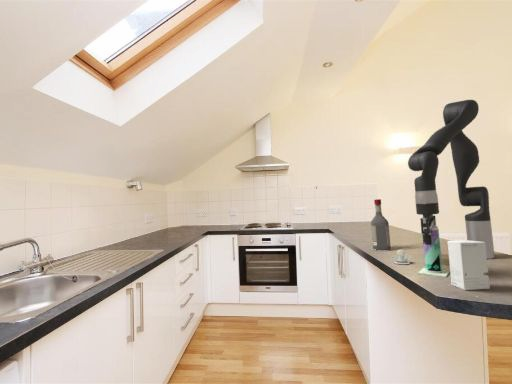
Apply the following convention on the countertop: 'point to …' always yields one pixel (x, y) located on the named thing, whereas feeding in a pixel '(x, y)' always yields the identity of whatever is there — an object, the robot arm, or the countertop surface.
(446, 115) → the robot arm
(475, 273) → the skincare box
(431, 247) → the spray can
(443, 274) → the mat
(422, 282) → the countertop surface
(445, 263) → the wooden box holder
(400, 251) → the pacifier
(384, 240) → the liquor
